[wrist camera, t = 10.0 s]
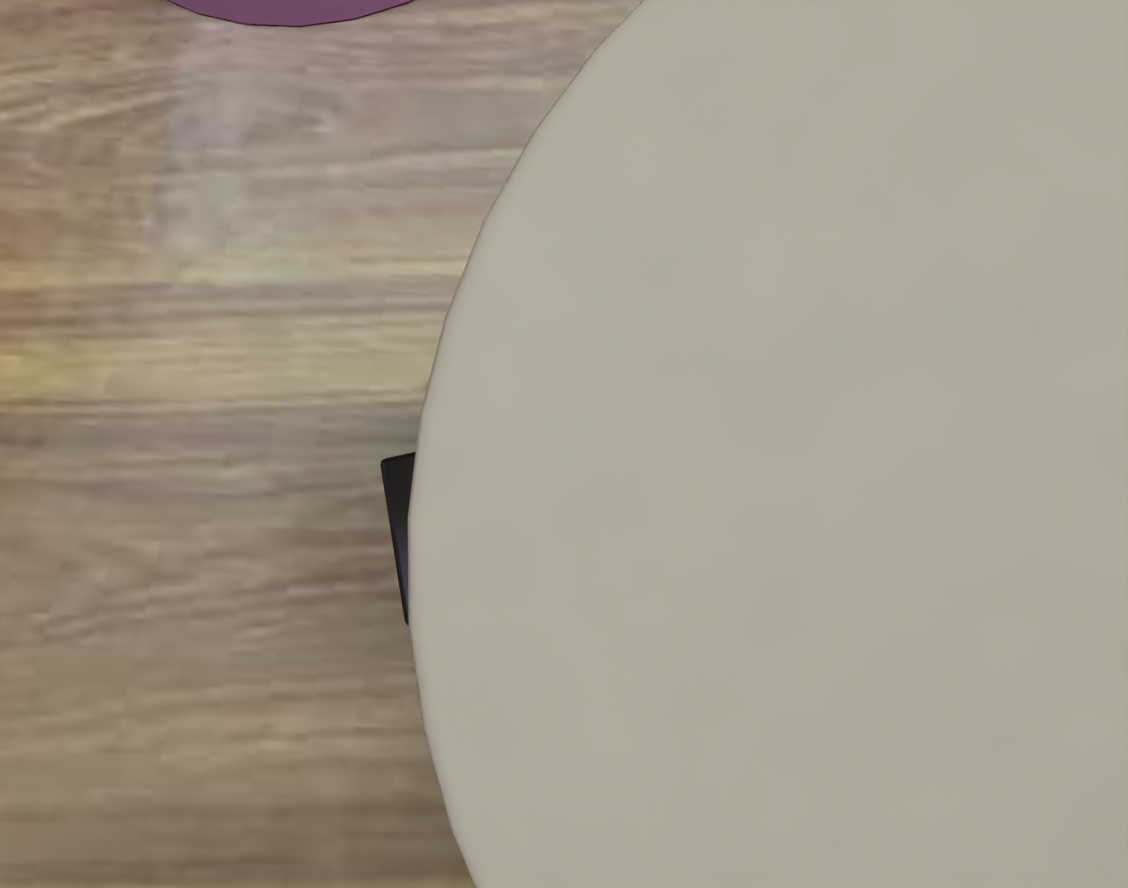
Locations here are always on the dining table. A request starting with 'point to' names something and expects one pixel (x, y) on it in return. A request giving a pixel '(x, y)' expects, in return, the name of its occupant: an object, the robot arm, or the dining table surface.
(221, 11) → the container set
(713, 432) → the beige green-banded cylinder
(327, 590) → the dining table surface
